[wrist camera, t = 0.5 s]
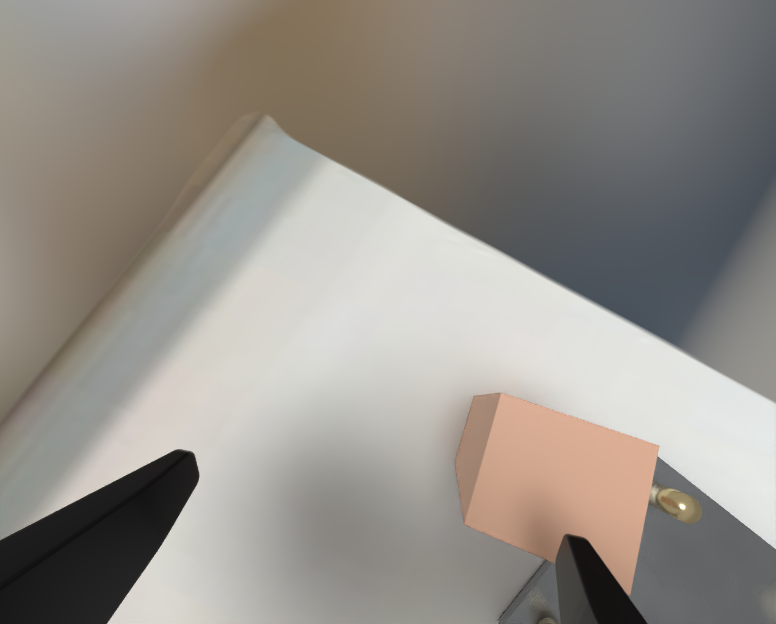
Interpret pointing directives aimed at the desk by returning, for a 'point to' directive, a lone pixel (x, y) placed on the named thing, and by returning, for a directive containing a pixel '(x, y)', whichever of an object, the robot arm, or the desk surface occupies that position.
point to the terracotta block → (554, 481)
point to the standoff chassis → (680, 565)
